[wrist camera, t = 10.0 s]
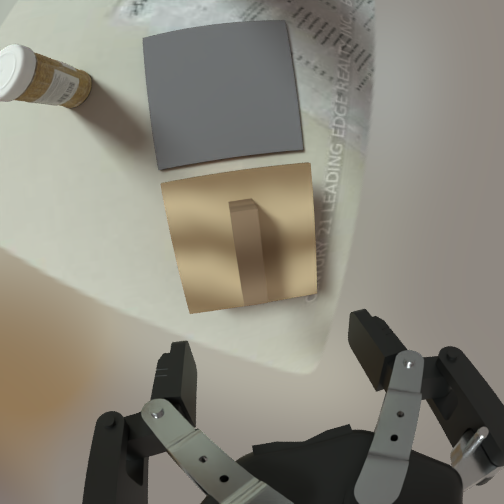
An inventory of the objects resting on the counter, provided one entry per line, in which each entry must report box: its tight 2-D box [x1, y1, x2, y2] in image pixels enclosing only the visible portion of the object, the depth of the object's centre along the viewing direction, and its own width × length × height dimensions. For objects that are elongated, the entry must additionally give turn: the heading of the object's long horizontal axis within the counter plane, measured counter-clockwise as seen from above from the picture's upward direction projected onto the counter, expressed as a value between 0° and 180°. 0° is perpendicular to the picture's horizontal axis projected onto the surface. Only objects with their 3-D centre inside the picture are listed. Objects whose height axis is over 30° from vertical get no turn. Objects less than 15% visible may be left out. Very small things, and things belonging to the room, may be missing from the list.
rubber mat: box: [143, 20, 303, 170], centre depth 26 cm, size 15×15×1 cm
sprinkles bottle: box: [0, 44, 91, 108], centre depth 17 cm, size 5×5×14 cm
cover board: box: [161, 162, 317, 314], centre depth 25 cm, size 13×13×5 cm
